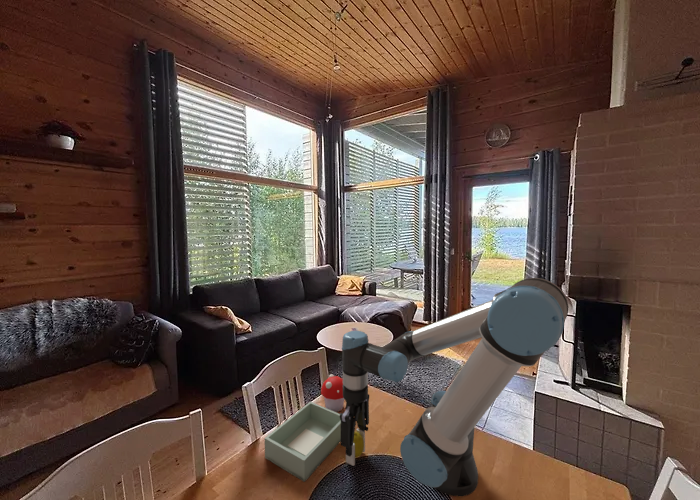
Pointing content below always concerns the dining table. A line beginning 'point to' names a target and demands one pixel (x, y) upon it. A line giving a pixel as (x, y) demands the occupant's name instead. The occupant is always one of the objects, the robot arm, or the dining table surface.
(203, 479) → the dining table surface
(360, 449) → the lemon
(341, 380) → the mushroom
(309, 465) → the crate
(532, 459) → the dining table surface
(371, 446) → the dining table surface
